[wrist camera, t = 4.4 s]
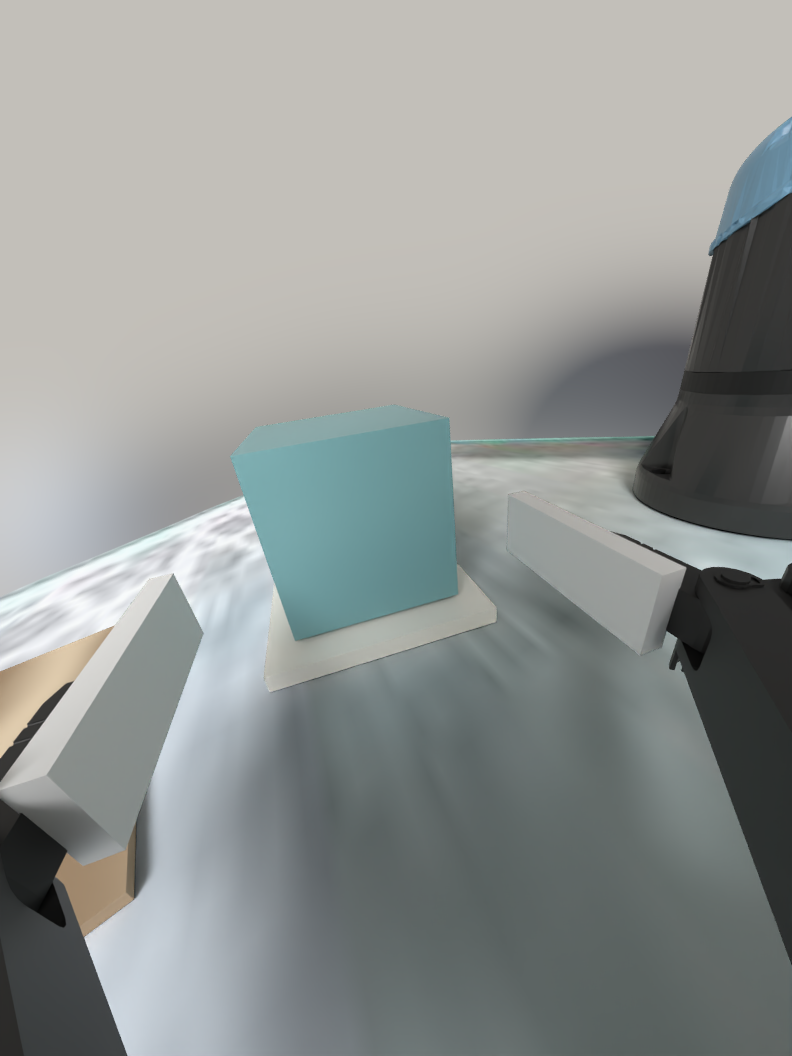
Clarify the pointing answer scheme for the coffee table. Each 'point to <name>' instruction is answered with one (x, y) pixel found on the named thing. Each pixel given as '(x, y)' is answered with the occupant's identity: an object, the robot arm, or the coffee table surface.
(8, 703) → the cork mat
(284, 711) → the coffee table surface
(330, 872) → the coffee table surface
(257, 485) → the aqua blue cube
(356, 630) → the off-white box
